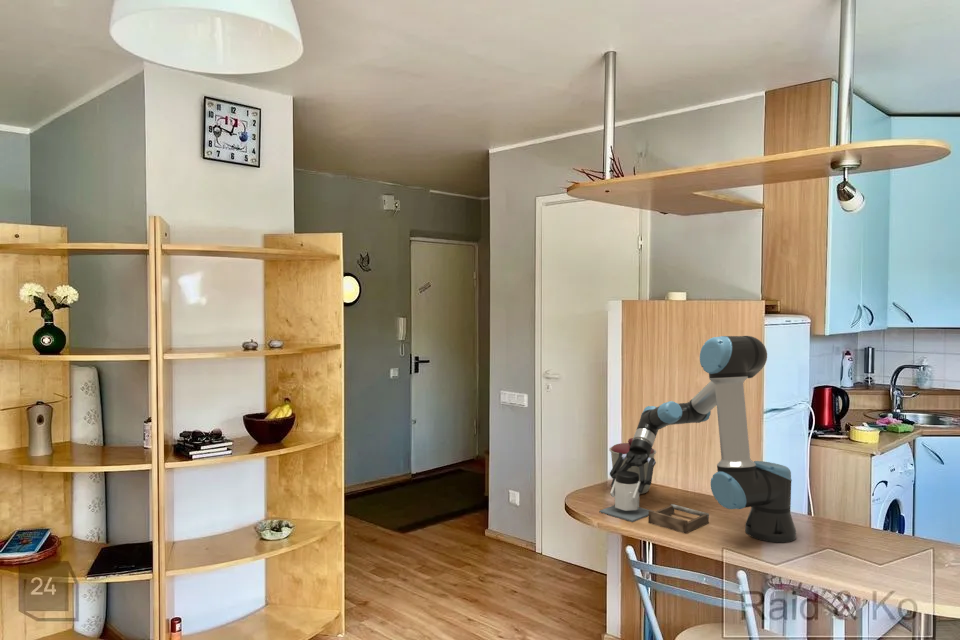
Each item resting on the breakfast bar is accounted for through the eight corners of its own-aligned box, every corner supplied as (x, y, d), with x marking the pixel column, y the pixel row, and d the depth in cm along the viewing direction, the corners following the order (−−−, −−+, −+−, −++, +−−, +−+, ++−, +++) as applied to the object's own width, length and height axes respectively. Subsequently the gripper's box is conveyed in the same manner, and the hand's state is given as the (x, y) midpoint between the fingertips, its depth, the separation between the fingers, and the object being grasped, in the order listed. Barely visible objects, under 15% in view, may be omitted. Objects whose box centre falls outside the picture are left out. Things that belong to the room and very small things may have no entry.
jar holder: (709, 522, 226) (709, 511, 226) (685, 533, 215) (686, 521, 215) (672, 512, 236) (672, 501, 236) (648, 522, 226) (648, 511, 225)
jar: (618, 511, 231) (619, 477, 231) (611, 504, 239) (611, 471, 239) (643, 510, 233) (643, 476, 232) (634, 503, 241) (635, 470, 240)
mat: (655, 513, 236) (655, 511, 236) (632, 522, 226) (632, 520, 226) (622, 504, 246) (622, 502, 246) (599, 512, 236) (599, 510, 236)
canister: (638, 500, 250) (639, 445, 249) (599, 490, 263) (600, 437, 263) (664, 491, 262) (665, 438, 261) (626, 482, 275) (627, 431, 275)
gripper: (671, 453, 241) (654, 508, 229) (619, 445, 254) (600, 497, 241) (666, 441, 237) (648, 497, 225) (613, 434, 249) (593, 486, 237)
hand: (623, 497), depth 233 cm, fingers closed on jar, 8 cm apart
